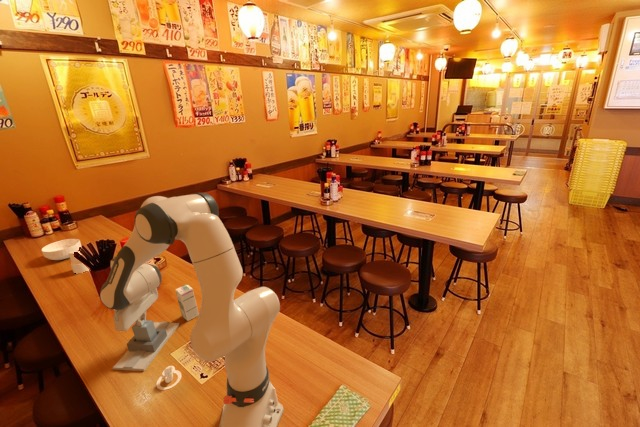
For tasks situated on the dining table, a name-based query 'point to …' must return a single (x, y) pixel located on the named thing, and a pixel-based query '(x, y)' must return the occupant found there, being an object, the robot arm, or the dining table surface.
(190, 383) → the dining table surface
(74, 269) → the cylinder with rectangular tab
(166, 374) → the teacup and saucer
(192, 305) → the syrup box
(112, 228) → the dining table surface
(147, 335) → the block
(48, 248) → the bowl
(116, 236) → the dining table surface
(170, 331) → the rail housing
